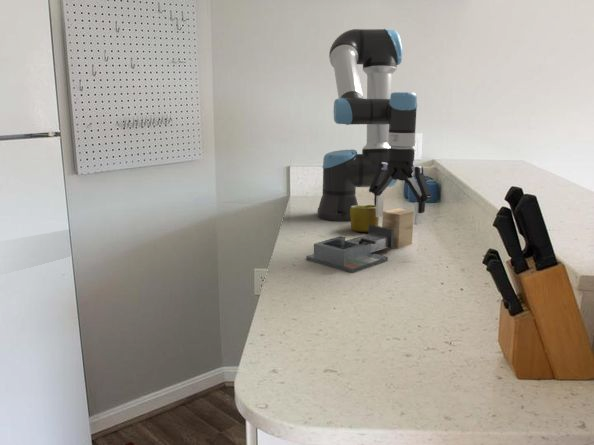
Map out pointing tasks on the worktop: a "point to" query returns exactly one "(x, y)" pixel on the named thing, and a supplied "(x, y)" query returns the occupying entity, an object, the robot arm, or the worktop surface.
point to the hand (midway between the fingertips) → (398, 220)
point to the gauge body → (345, 255)
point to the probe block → (399, 225)
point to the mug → (363, 217)
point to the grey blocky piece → (374, 238)
